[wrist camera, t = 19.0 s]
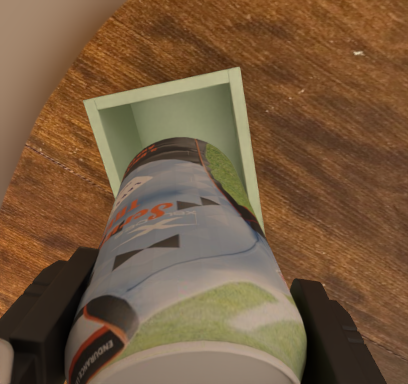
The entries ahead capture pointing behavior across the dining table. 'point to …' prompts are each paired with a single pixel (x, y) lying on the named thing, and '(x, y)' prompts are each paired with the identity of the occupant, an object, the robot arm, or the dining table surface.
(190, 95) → the case
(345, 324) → the robot arm
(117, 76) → the dining table surface
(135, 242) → the beverage can
